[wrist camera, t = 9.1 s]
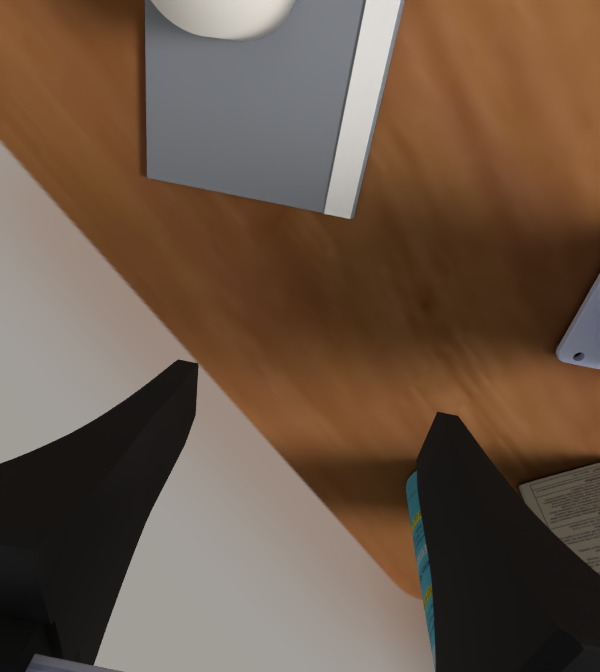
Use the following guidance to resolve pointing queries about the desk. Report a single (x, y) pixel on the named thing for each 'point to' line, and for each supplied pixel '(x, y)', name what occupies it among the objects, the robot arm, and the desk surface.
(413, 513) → the tube
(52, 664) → the robot arm
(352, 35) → the gray book
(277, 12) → the white tapered cylinder
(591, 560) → the skincare box
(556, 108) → the desk surface
